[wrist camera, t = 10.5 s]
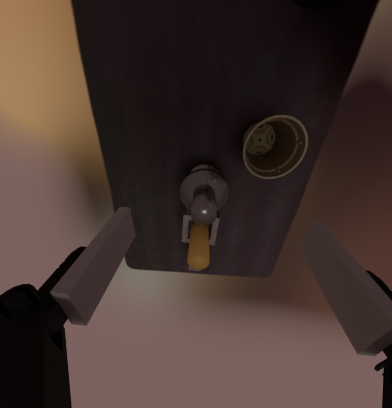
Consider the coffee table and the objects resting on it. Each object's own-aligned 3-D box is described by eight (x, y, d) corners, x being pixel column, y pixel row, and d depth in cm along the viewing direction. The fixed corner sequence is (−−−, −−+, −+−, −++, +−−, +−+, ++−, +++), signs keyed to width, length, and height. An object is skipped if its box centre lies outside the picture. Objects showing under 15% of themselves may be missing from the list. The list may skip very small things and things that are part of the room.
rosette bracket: (211, 251, 49) (213, 299, 37) (179, 248, 49) (171, 295, 37) (228, 161, 36) (239, 191, 24) (185, 156, 36) (174, 184, 24)
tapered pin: (191, 208, 40) (185, 255, 28) (206, 206, 40) (207, 253, 28) (194, 221, 42) (189, 270, 30) (209, 219, 41) (210, 268, 29)
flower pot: (274, 99, 30) (296, 99, 23) (292, 146, 34) (316, 159, 27) (226, 131, 33) (232, 140, 26) (247, 171, 37) (258, 188, 30)
